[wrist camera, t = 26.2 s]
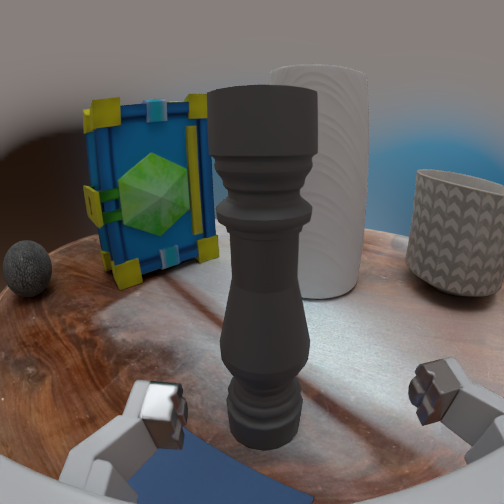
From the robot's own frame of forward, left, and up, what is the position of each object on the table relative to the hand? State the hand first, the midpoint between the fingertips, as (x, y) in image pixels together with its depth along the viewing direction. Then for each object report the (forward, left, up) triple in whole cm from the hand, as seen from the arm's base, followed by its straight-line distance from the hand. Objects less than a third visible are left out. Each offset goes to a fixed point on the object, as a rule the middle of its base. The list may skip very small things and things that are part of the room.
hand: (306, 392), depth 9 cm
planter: (+44, -9, -15) cm, 48 cm away
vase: (+34, +14, -15) cm, 40 cm away
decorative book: (+25, +40, -15) cm, 49 cm away
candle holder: (+7, +6, -15) cm, 18 cm away
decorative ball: (+2, +52, -15) cm, 54 cm away
